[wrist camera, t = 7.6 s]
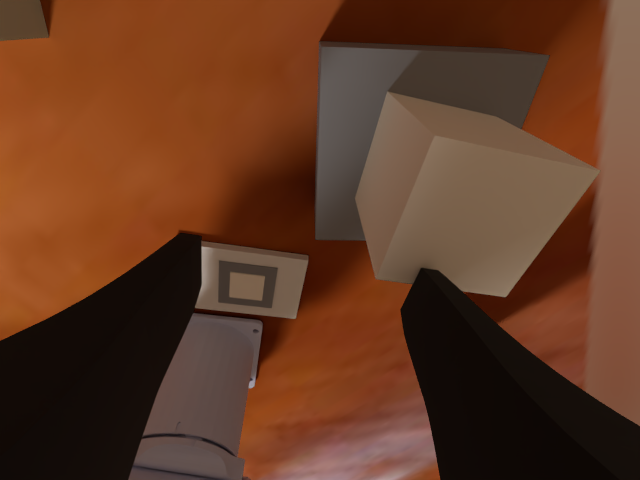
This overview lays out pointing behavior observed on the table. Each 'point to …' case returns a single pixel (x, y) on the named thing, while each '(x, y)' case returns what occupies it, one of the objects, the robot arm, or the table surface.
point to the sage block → (22, 20)
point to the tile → (251, 280)
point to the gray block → (410, 80)
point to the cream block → (461, 195)
